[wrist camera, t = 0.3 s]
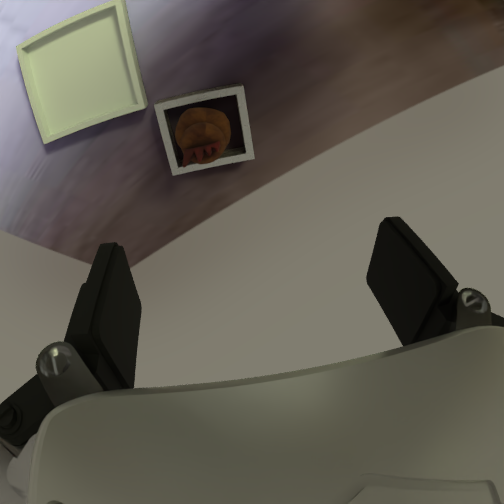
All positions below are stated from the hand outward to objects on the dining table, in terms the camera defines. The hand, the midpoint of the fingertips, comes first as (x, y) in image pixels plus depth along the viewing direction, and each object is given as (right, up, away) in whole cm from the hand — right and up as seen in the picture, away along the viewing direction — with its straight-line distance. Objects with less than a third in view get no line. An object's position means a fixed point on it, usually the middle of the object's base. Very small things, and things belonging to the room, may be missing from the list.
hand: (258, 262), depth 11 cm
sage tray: (-23, +25, +21) cm, 40 cm away
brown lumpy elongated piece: (-7, +18, +29) cm, 35 cm away
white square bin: (-7, +18, +29) cm, 35 cm away
